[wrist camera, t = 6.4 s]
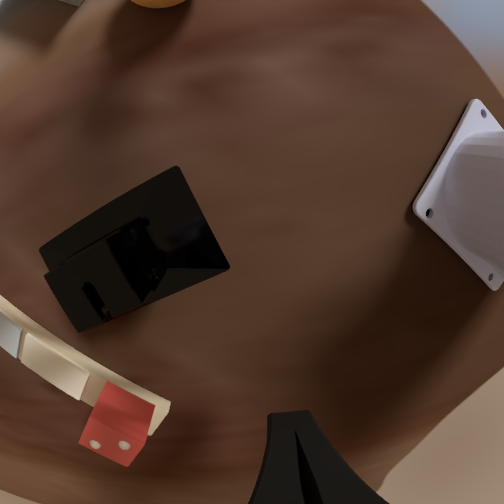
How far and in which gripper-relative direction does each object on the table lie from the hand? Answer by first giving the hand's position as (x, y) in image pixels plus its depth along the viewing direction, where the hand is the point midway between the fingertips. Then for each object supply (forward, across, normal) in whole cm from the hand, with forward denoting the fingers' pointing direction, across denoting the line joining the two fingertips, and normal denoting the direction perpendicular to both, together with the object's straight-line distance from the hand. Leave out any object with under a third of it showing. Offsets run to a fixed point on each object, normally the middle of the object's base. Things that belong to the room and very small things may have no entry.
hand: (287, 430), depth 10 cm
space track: (+7, +15, +1) cm, 17 cm away
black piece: (+8, +7, -4) cm, 12 cm away
